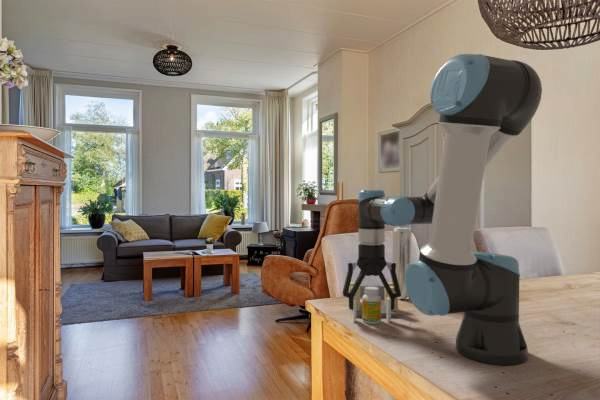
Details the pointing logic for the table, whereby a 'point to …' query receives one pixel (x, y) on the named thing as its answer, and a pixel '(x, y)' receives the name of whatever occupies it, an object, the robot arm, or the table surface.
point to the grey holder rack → (382, 294)
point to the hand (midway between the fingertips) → (371, 320)
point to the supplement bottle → (371, 306)
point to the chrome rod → (402, 256)
